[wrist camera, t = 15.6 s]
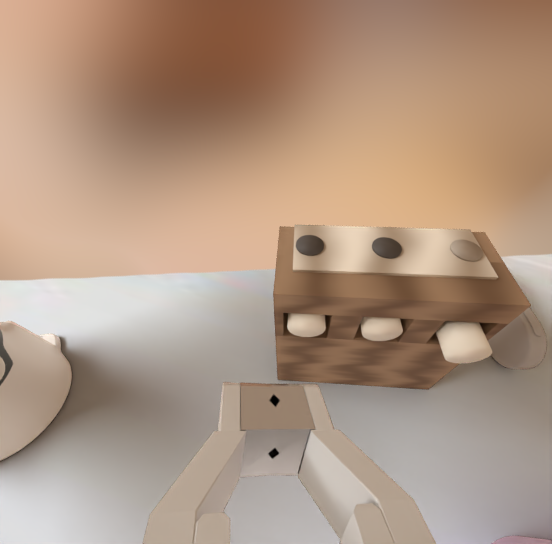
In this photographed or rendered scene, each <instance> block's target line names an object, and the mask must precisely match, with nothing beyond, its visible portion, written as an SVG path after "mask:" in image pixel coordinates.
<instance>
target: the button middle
mask: <svg viewBox="0 0 552 544" xmlns="http://www.w3.org/2000/svg"><path fill="white" fill-rule="evenodd" d="M360 324H361V331H362V335H363V337H364V338H366V339H368V340H372V341H387V340H391V339H394V338H396V337H398V336H400V335H401V334H402V332H403V329H402V325H401V321H400V319H398V318H378V317H362V320H361V322H360Z"/></svg>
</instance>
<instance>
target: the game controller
mask: <svg viewBox="0 0 552 544" xmlns="http://www.w3.org/2000/svg"><path fill="white" fill-rule="evenodd" d="M488 343H489V345H490V347H491V349H492V354H491V356H492V357H493V358H494V359H495V360H496V361H497V362H498V363H499V364H500V365H502V366H504V367H507V368H511V369H531V368H534V367H536V366H537V365H539V364H540V363H541V361H542V360H543V358H544V356H545V354H546V349H547V341H546V335H545V332H544V329H543V327H542V325H541V324H540V322H539V320H538V319H537V317H536V316H535V314H534V313H533V311H532V310H531V308H530V307H529V308H528V309H526V310H525V311H524V312H523V313H521V314H520V315H519V316H518V317H517V318H515V319H514V320H513V321H512V322H510V323H509V324H508V325H507V326H505V327H504V328H503V329H502V330H501V331H499V332H498V333H497V334H496V335H494V336H493V337H492V338H491V339H489V340H488Z"/></svg>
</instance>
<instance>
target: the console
mask: <svg viewBox="0 0 552 544" xmlns="http://www.w3.org/2000/svg"><path fill="white" fill-rule="evenodd" d="M273 297H274V317H275V336H276V356H277V375H278V380H289V381H304V382H320V383H335V384H351V385H366V386H382V387H397V388H413V389H429V388H430V387H432V386H433V385H434V384H435V383H437V382H438V381H439V380H440V379H441V378H443V377H444V376H445V375H446V374H448V373H449V372H450V371H451V370H453V369H454V368H455V367H456V366H457V365H459V364H460V363H452V362H448V361H446V360H445V358H444V355H443V352H442V349H441V346H440V343H439V340H438V338H437V335H436V331H437V330H438V329H439V327H440V326H441V325H442V324H443V323H444V322H445V321H460V322H479V324H480V326H481V328H482V330H483V332H484V334H485V336H486V339H487V341H488V340H489V339H491V338H492V337H493V336H494V335H496V334H497V333H498V332H499V331H501V330H502V329H503V328H504V327H505V326H507V325H508V324H509V323H510V322H512V321H513V320H514V319H515V318H517V317H518V316H519V315H520V314H521V313H523V312H524V311H525V310H526V309H528V308H529V307H530V306H531V304H530V303H529V301H528V300H527V298H526V297H525V295H524V293H523V292H522V290H521V289H520V287H519V286H518V284H517V282H516V281H515V279H514V278H513V276H512V275H511V273H510V271H509V270H508V268H507V267H506V265H505V264H504V262H503V260H502V259H501V257H500V256H499V254H498V253H497V251H496V249H495V248H494V247H493V245H492V243H491V242H490V240H489V238H488V237H487V235H486V234H485V233H484V232H471V230H466V229H431V228H396V227H395V228H394V227H360V226H358V227H357V226H325V225H295V227H280V230H279V240H278V251H277V261H276V271H275V282H274V292H273ZM288 313H296V314H316V315H325V325H326V329H325V331H324V332H323V333H322V334H320V335H318V336H314V337H300V336H296V335H294V334H292V333H290V332H289V330H288V328H287V324H288ZM362 317H378V318H398V319H400V321H401V325H402V329H403V332H402V334H401V335H400V336H398V337H396V338H394V339H391V340H387V341H372V340H368V339H366V338H364V337H363V335H362V331H361V324H360V322H361V320H362Z"/></svg>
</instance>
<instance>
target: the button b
mask: <svg viewBox="0 0 552 544" xmlns="http://www.w3.org/2000/svg"><path fill="white" fill-rule="evenodd" d="M436 335H437V338H438V340H439V343H440V346H441V349H442V352H443V355H444V358H445V360H446V361H448V362H452V363H472V362H477V361H480V360H483V359H486V358H488V357H489V356H490V355H491V354H492V349H491V347H490V345H489V343H488V341H487V339H486V336H485V334H484V332H483V330H482V328H481V326H480V324H479V322H460V321H445V322H444V323H443V324H442V325H441V326H440V327H439V329H438V330H437V331H436Z"/></svg>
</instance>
